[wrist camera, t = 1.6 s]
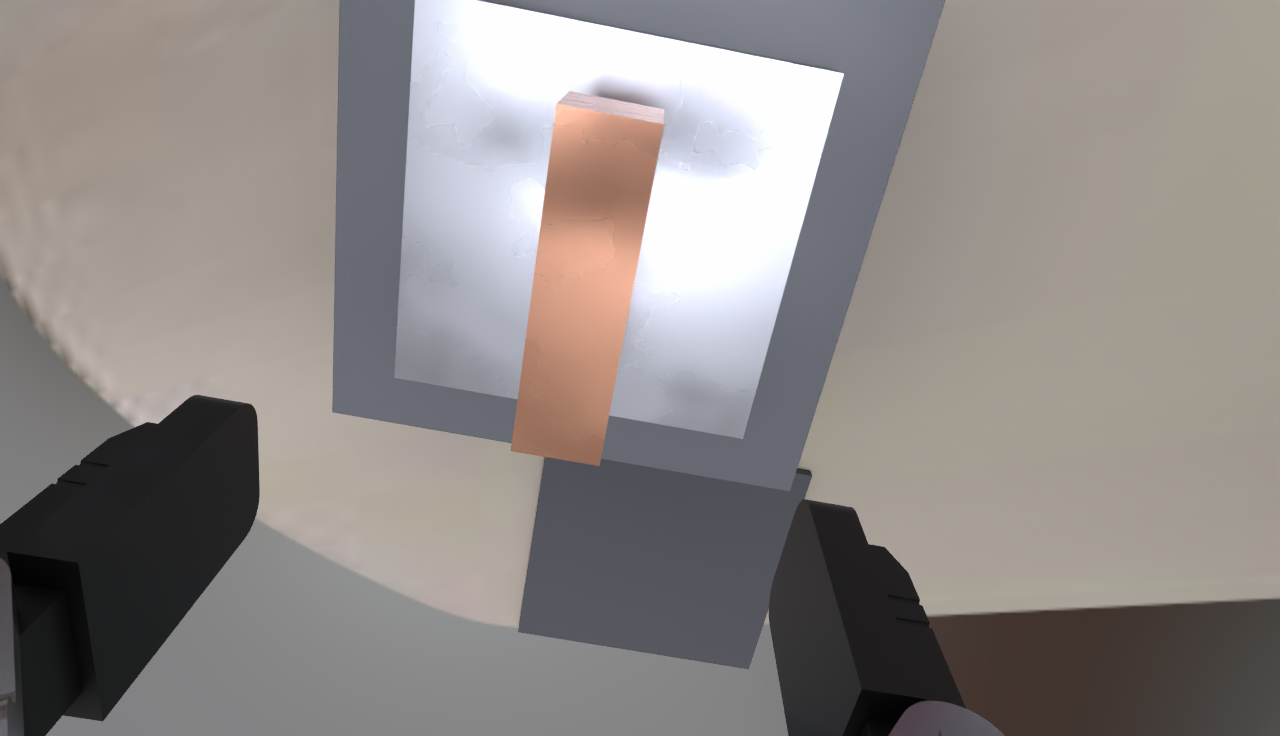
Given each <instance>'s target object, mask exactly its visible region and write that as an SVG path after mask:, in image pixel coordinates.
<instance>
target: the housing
mask: <svg viewBox="0 0 1280 736" xmlns="http://www.w3.org/2000/svg"><path fill="white" fill-rule="evenodd" d="M487 1H492V2H497V3H502V4H507V5H512V6H517V7H522V8H527V9H532V10H537V11H542V12H547V13H552V14H557V15H562V16H567V17H572V18H577V19H582V20H587V21H592V22H597V23H602V24H607V25H612V26H617V27H622V28H627V29H632V30H637V31H642V32H647V33H652V34H657V35H662V36H667V37H672V38H677V39H682V40H687V41H692V42H697V43H702V44H707V45H712V46H717V47H722V48H727V49H732V50H737V51H742V52H747V53H752V54H757V55H762V56H767V57H772V58H777V59H782V60H787V61H792V62H797V63H802V64H807V65H812V66H817V67H822V68H827V69H832V70H836V71H839V72H841V73H843V74H844V75H843V78H842V82H841V86H840V89H839V93H838V97H837V100H836V104H835V107H834V111H833V115H832V118H831V122H830V126H829V129H828V133H827V136H826V140H825V144H824V147H823V151H822V154H821V158H820V162H819V165H818V169H817V173H816V176H815V180H814V183H813V187H812V191H811V194H810V198H809V201H808V205H807V209H806V212H805V216H804V220H803V223H802V227H801V230H800V234H799V238H798V241H797V245H796V249H795V252H794V256H793V259H792V263H791V267H790V270H789V274H788V277H787V281H786V285H785V288H784V292H783V296H782V299H781V303H780V306H779V310H778V314H777V317H776V321H775V324H774V328H773V332H772V335H771V339H770V343H769V346H768V350H767V353H766V357H765V361H764V364H763V368H762V372H761V375H760V379H759V382H758V386H757V390H756V393H755V397H754V400H753V404H752V408H751V411H750V415H749V419H748V422H747V426H746V429H745V433H744V437H743V439H740V438H735V437H729V436H723V435H718V434H712V433H706V432H701V431H695V430H689V429H684V428H678V427H672V426H666V425H661V424H655V423H649V422H644V421H638V420H632V419H627V418H621V417H615V416H610V415H609V418H608V424H607V429H606V434H605V440H604V445H603V450H602V455H601V459H606V460H612V461H618V462H624V463H629V464H635V465H641V466H647V467H652V468H658V469H664V470H670V471H676V472H681V473H687V474H693V475H699V476H704V477H710V478H716V479H722V480H728V481H733V482H739V483H745V484H751V485H757V486H762V487H768V488H774V489H780V490H785V491H790V489H791V486H792V483H793V480H794V477H795V473H796V470H797V467H798V464H799V461H800V458H801V454H802V451H803V448H804V445H805V442H806V439H807V435H808V432H809V429H810V426H811V423H812V420H813V417H814V413H815V410H816V407H817V404H818V401H819V398H820V394H821V391H822V388H823V385H824V382H825V379H826V375H827V372H828V369H829V366H830V363H831V360H832V356H833V353H834V350H835V347H836V344H837V341H838V338H839V334H840V331H841V328H842V325H843V322H844V319H845V315H846V312H847V309H848V306H849V303H850V300H851V296H852V293H853V290H854V287H855V284H856V281H857V277H858V274H859V271H860V268H861V265H862V262H863V259H864V255H865V252H866V249H867V246H868V243H869V240H870V236H871V233H872V230H873V227H874V224H875V221H876V217H877V214H878V211H879V208H880V205H881V202H882V198H883V195H884V192H885V189H886V186H887V183H888V179H889V176H890V173H891V170H892V167H893V164H894V161H895V157H896V154H897V151H898V148H899V145H900V142H901V138H902V135H903V132H904V129H905V126H906V123H907V119H908V116H909V113H910V110H911V107H912V104H913V100H914V97H915V94H916V91H917V88H918V85H919V82H920V78H921V75H922V72H923V69H924V66H925V63H926V59H927V56H928V53H929V50H930V47H931V44H932V40H933V37H934V34H935V31H936V28H937V25H938V21H939V18H940V15H941V12H942V9H943V6H944V3H945V0H487ZM414 9H415V0H340V9H339V66H338V123H337V180H336V237H335V294H334V351H333V408H332V412H334V413H340V414H346V415H352V416H357V417H363V418H369V419H375V420H381V421H386V422H392V423H398V424H404V425H410V426H415V427H421V428H427V429H433V430H438V431H444V432H450V433H456V434H462V435H467V436H473V437H479V438H485V439H491V440H496V441H502V442H508V443H512V438H513V431H514V423H515V415H516V408H517V400H518V399H513V398H507V397H501V396H496V395H490V394H484V393H479V392H473V391H467V390H462V389H456V388H450V387H444V386H439V385H433V384H427V383H422V382H416V381H410V380H405V379H399V378H394V375H395V356H396V338H397V320H398V302H399V283H400V265H401V247H402V229H403V210H404V192H405V174H406V155H407V137H408V119H409V101H410V82H411V64H412V46H413V27H414Z"/></svg>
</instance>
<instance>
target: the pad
mask: <svg viewBox="0 0 1280 736" xmlns="http://www.w3.org/2000/svg"><path fill="white" fill-rule="evenodd" d="M811 477H812V475H811V472H810V471H806V470H801V469H797V470H796V473H795V477H794V480H793V483H792V486H791V489H790V491H785V490H780V489H774V488H768V487H762V486H757V485H751V484H745V483H739V482H733V481H728V480H722V479H716V478H710V477H704V476H699V475H693V474H687V473H681V472H676V471H670V470H664V469H658V468H652V467H647V466H641V465H635V464H629V463H624V462H618V461H612V460H606V459H601V461H600V466H596V465H590V464H584V463H578V462H573V461H567V460H561V459H555V458H549V457H545V461H544V467H543V474H542V480H541V487H540V493H539V500H538V506H537V513H536V519H535V526H534V533H533V539H532V546H531V552H530V559H529V565H528V572H527V578H526V585H525V591H524V598H523V604H522V611H521V617H520V624H519V630H518V632H521V633H527V634H534V635H541V636H546V637H552V638H559V639H565V640H571V641H577V642H583V643H589V644H596V645H602V646H608V647H614V648H621V649H627V650H633V651H639V652H646V653H652V654H658V655H664V656H670V657H676V658H682V659H689V660H695V661H701V662H707V663H714V664H720V665H726V666H732V667H739V668H745V669H749V666H750V663H751V660H752V657H753V654H754V651H755V648H756V645H757V642H758V639H759V635H760V633H761V630H762V627H763V624H764V621H765V618H766V615H767V611H768V608H769V601H770V592H771V587H772V582H773V579H774V575H775V572H776V569H777V566H778V563H779V560H780V557H781V554H782V551H783V548H784V545H785V541H786V538H787V535H788V532H789V529H790V526H791V523H792V520H793V517H794V514H795V511H796V508H797V506H798V504H799V503H800V502H801V501H802V500H803V499H804V498H805V495H806V492H807V489H808V486H809V483H810V480H811Z"/></svg>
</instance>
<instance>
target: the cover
mask: <svg viewBox="0 0 1280 736" xmlns="http://www.w3.org/2000/svg"><path fill="white" fill-rule="evenodd" d="M843 75H844V74H843V73H841V72H839V71H836V70H832V69H827V68H822V67H817V66H812V65H807V64H802V63H797V62H792V61H787V60H782V59H777V58H772V57H767V56H762V55H757V54H752V53H747V52H742V51H737V50H732V49H727V48H722V47H717V46H712V45H707V44H702V43H697V42H692V41H687V40H682V39H677V38H672V37H667V36H662V35H657V34H652V33H647V32H642V31H637V30H632V29H627V28H622V27H617V26H612V25H607V24H602V23H597V22H592V21H587V20H582V19H577V18H572V17H567V16H562V15H557V14H552V13H547V12H542V11H537V10H532V9H527V8H522V7H517V6H512V5H507V4H502V3H497V2H492V1H487V0H415V9H414V27H413V46H412V64H411V82H410V101H409V119H408V137H407V155H406V174H405V192H404V210H403V229H402V247H401V265H400V283H399V302H398V320H397V338H396V356H395V375H394V378H399V379H405V380H410V381H416V382H422V383H427V384H433V385H439V386H444V387H450V388H456V389H462V390H467V391H473V392H479V393H484V394H490V395H496V396H501V397H507V398H513V399H518V400H517V408H516V415H515V423H514V431H513V438H512V446H511V451H515V452H520V453H526V454H532V455H538V456H544V457H549V458H555V459H561V460H567V461H573V462H578V463H584V464H590V465H596V466H600V461H601V455H602V450H603V445H604V440H605V434H606V429H607V424H608V418H609V415H610V416H615V417H621V418H627V419H632V420H638V421H644V422H649V423H655V424H661V425H666V426H672V427H678V428H684V429H689V430H695V431H701V432H706V433H712V434H718V435H723V436H729V437H735V438H740V439H743V437H744V433H745V429H746V426H747V422H748V419H749V415H750V411H751V408H752V404H753V400H754V397H755V393H756V390H757V386H758V382H759V379H760V375H761V372H762V368H763V364H764V361H765V357H766V353H767V350H768V346H769V343H770V339H771V335H772V332H773V328H774V324H775V321H776V317H777V314H778V310H779V306H780V303H781V299H782V296H783V292H784V288H785V285H786V281H787V277H788V274H789V270H790V267H791V263H792V259H793V256H794V252H795V249H796V245H797V241H798V238H799V234H800V230H801V227H802V223H803V220H804V216H805V212H806V209H807V205H808V201H809V198H810V194H811V191H812V187H813V183H814V180H815V176H816V173H817V169H818V165H819V162H820V158H821V154H822V151H823V147H824V144H825V140H826V136H827V133H828V129H829V126H830V122H831V118H832V115H833V111H834V107H835V104H836V100H837V97H838V93H839V89H840V86H841V82H842V78H843Z"/></svg>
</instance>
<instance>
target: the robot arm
mask: <svg viewBox="0 0 1280 736" xmlns="http://www.w3.org/2000/svg"><path fill="white" fill-rule="evenodd" d="M258 504H259V458H258V425H257V414H256V411H255V409H254V407H253V406H252V405H251V404H248V403H242V402H236V401H230V400H224V399H218V398H212V397H206V396H201V395H194V396H192V397H190V398H189V399H187V400H186V401H185V402H184V403H182V404H181V405H180V406H179V407H178V408H177V409H175V410H174V411H173V412H172V413H171V414H169V415H168V416H167V417H166V418H165V419H163V420H162V421H161V422H160V423H159V424H155V423H149V422H147V423H145V424H142V425H140V426H137V427H135V428H133V429H130V430H128V431H125V432H123V433H121V434H118V435H116V436H114V437H111V438H109V439H107V441H105V442H104V443H102V444H101V445H100V446H99V447H97V448H96V449H95V450H94V451H92V452H91V453H90V454H89V455H87V456H86V457H85V458H83V459H82V460H81V464H80V465H79V466H78V465H75V466H73V467H72V468H71V469H70V470H68V471H67V472H66V473H65V474H63V475H62V476H61V477H60V478H58V481H57V484H51V485H49V486H48V487H47V488H46V489H44V490H43V491H42V492H41V493H39V494H38V495H37V496H36V497H34V498H33V499H32V500H31V501H29V502H28V503H27V504H25V505H24V506H23V507H22V508H20V509H19V510H18V511H17V512H15V513H14V514H13V515H12V516H10V517H9V518H8V519H7V520H5V521H4V522H3V523H1V524H0V736H45V735H46V734H47V733H48V732H49V731H50V729H51V728H52V727H53V726H54V725H55V724H56V722H57V721H58V720H59V719H60V718H61V716H62V715H65V716H72V717H78V718H85V719H92V720H98V721H103V720H104V719H105V718H106V717H107V715H108V714H109V713H110V711H111V710H112V709H113V707H114V706H115V705H116V704H117V702H118V701H119V700H120V698H121V697H122V696H123V695H124V693H125V692H126V691H127V689H128V688H129V687H130V685H131V684H132V683H133V682H134V680H135V679H136V678H137V677H138V675H139V674H140V673H141V671H142V670H143V669H144V668H145V666H146V665H147V663H148V662H149V661H150V660H151V658H152V657H153V656H154V655H155V653H156V652H157V651H158V650H159V648H160V647H161V645H162V644H163V643H164V642H165V640H166V639H167V638H168V637H169V635H170V634H171V633H172V632H173V630H174V629H175V627H176V626H177V625H178V624H179V622H180V621H181V620H182V619H183V617H184V616H185V615H186V613H187V612H188V611H189V610H190V608H191V607H192V606H193V604H194V603H195V602H196V600H197V599H198V598H199V597H200V595H201V594H202V593H203V592H204V590H205V589H206V588H207V586H208V585H209V584H210V582H211V581H212V580H213V579H214V577H215V576H216V575H217V574H218V572H219V571H220V570H221V568H222V567H223V566H224V564H225V563H226V562H227V561H228V559H229V558H230V557H231V555H232V554H233V553H234V551H235V550H236V549H237V548H238V546H239V545H240V544H241V543H242V541H243V540H244V539H245V537H246V536H247V534H248V532H249V531H250V528H251V527H252V524H253V522H254V519H255V516H256V513H257V509H258ZM919 601H920V599H919V597H918V595H917V592H916V590H915V588H914V585H913V583H912V580H911V578H910V576H909V573H908V572H907V571H906V570H905V569H904V568H903V567H902V566H901V564H900V563H899V562H898V561H897V560H896V559H895V558H894V557H893V556H892V555H891V554H890V553H889V551H888V550H887V549H886V548H885V547H881V546H875V545H869V544H868V542H867V540H866V537H865V534H864V532H863V529H862V526H861V524H860V521H859V518H858V516H857V513H856V511H855V510H854V509H853V508H852V507H846V506H841V505H835V504H829V503H823V502H817V501H811V500H805V499H803V500H802V501H801V502H800V503H799V504H798V506H797V508H796V511H795V514H794V517H793V520H792V523H791V526H790V529H789V532H788V535H787V538H786V541H785V545H784V548H783V551H782V554H781V557H780V560H779V563H778V566H777V569H776V572H775V575H774V579H773V582H772V587H771V592H770V601H769V622H770V628H771V635H772V640H773V647H774V652H775V658H776V664H777V670H778V676H779V682H780V687H781V694H782V699H783V705H784V711H785V717H786V723H787V729H788V735H789V736H1004V735H1003V734H1002V733H1001V732H1000V731H999V730H998V729H996V728H995V727H994V726H993V725H992V724H991V723H989V722H988V721H986V720H985V719H983V718H982V717H980V716H979V715H977V714H975V713H973V712H972V711H969V710H967V709H966V707H965V705H964V703H963V700H962V698H961V696H960V693H959V691H958V689H957V686H956V684H955V682H954V679H953V677H952V675H951V672H950V670H949V667H948V665H947V663H946V660H945V658H944V656H943V653H942V651H941V649H940V646H939V644H938V642H937V639H936V637H935V634H934V632H933V630H932V629H931V628H929V621H928V618H927V616H926V613H925V611H924V609H923V606H922V605H919Z"/></svg>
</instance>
